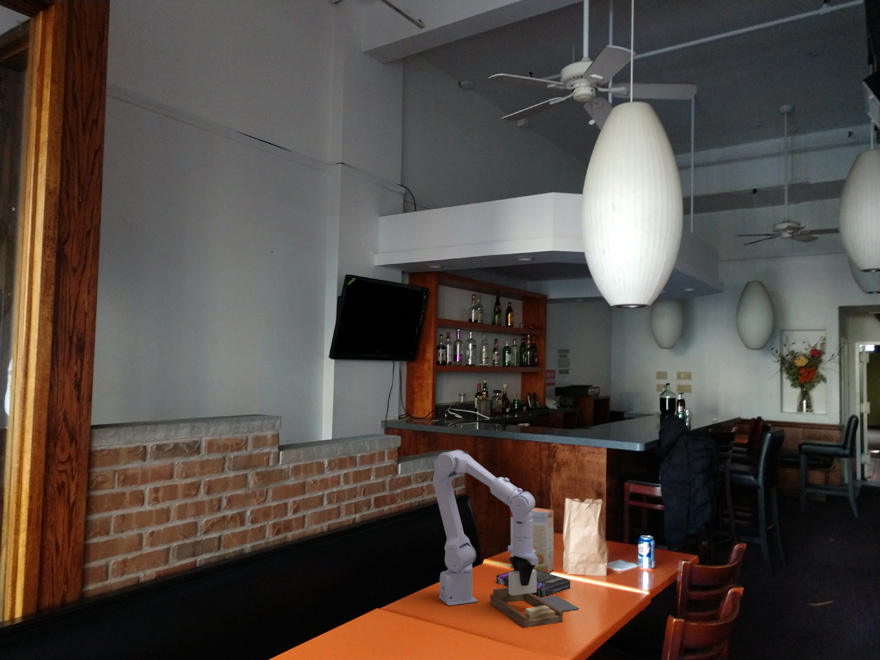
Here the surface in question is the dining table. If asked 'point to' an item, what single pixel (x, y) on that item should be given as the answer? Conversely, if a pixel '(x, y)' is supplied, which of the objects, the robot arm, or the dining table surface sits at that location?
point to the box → (541, 583)
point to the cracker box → (541, 538)
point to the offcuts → (538, 612)
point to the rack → (499, 602)
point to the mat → (559, 603)
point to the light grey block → (515, 583)
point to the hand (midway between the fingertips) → (522, 584)
